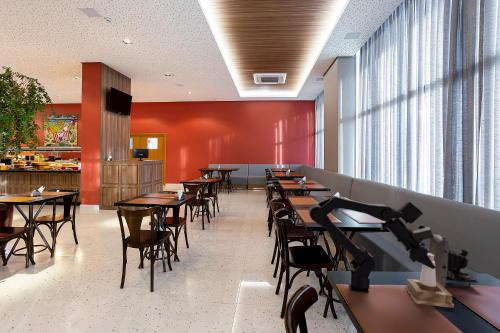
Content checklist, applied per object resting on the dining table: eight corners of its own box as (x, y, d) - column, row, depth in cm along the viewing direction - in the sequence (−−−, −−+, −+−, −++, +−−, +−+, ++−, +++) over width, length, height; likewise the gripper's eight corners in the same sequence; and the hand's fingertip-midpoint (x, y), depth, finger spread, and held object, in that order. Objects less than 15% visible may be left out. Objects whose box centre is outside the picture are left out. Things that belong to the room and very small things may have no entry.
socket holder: (415, 303, 100) (416, 292, 100) (404, 288, 112) (405, 278, 112) (454, 307, 98) (454, 296, 98) (438, 291, 110) (439, 281, 109)
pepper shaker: (416, 282, 105) (418, 253, 105) (422, 279, 109) (424, 250, 108) (433, 288, 101) (435, 257, 101) (439, 284, 104) (440, 254, 104)
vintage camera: (479, 293, 110) (484, 242, 110) (435, 287, 113) (439, 237, 113) (466, 283, 120) (470, 236, 119) (425, 277, 123) (429, 232, 122)
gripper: (422, 224, 97) (459, 262, 93) (416, 214, 114) (447, 246, 110) (395, 243, 101) (430, 280, 96) (393, 231, 118) (422, 262, 113)
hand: (433, 266), depth 104 cm, fingers closed on pepper shaker, 4 cm apart
